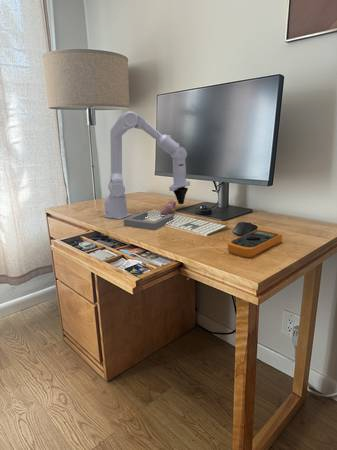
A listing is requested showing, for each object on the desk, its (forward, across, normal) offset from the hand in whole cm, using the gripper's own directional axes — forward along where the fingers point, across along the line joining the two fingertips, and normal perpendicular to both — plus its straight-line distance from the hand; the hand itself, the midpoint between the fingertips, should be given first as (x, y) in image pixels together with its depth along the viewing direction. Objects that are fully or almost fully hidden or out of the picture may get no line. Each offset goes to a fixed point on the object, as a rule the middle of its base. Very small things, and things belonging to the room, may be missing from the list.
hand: (180, 203), depth 143 cm
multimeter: (+3, -32, -45) cm, 56 cm away
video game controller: (+3, -9, +1) cm, 10 cm away
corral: (+2, -25, 0) cm, 25 cm away
